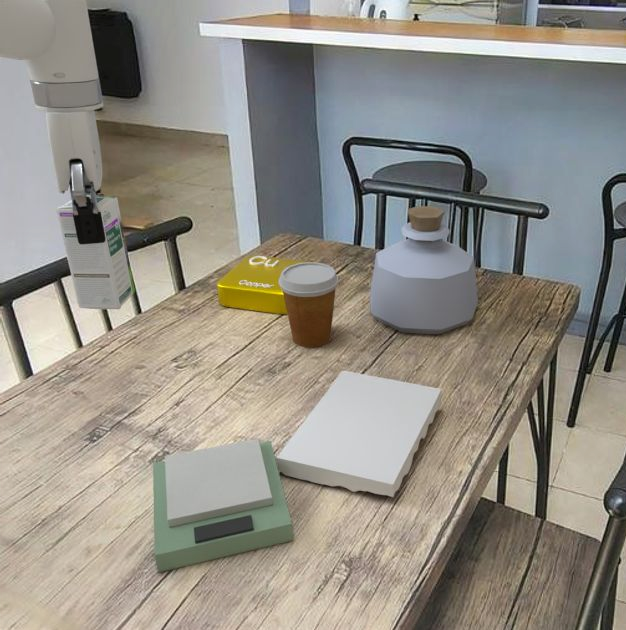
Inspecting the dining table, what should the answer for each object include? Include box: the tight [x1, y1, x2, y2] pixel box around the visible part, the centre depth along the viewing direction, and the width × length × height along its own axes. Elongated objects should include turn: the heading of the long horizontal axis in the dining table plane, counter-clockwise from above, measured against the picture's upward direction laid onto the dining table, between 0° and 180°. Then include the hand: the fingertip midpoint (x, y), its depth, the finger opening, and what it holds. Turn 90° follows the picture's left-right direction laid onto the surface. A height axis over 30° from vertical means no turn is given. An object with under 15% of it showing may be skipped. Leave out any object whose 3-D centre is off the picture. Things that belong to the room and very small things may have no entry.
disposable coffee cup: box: [278, 261, 339, 348], centre depth 111 cm, size 10×10×12 cm
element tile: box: [216, 254, 309, 315], centre depth 128 cm, size 15×15×5 cm
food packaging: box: [276, 370, 443, 498], centre depth 90 cm, size 15×3×20 cm
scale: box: [152, 438, 294, 573], centre depth 78 cm, size 14×15×4 cm
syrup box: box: [55, 194, 136, 310], centre depth 92 cm, size 6×6×14 cm
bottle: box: [368, 205, 479, 335], centre depth 120 cm, size 20×20×19 cm
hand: (94, 231), depth 91 cm, fingers closed on syrup box, 7 cm apart
